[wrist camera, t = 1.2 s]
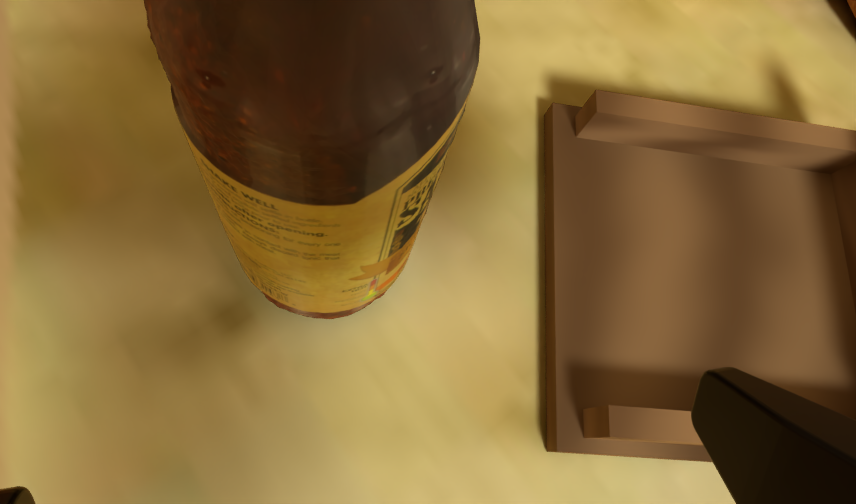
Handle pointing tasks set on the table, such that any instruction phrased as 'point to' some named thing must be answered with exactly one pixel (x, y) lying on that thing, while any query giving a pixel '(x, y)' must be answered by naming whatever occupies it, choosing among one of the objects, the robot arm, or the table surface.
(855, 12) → the brown rounded slab
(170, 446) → the table surface
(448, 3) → the sauce bottle
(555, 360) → the brown wooden tray
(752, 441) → the robot arm
